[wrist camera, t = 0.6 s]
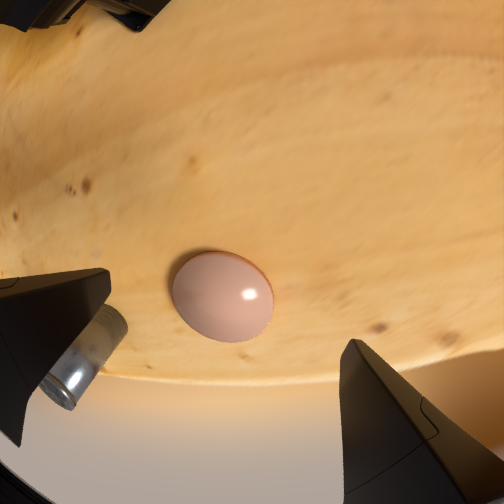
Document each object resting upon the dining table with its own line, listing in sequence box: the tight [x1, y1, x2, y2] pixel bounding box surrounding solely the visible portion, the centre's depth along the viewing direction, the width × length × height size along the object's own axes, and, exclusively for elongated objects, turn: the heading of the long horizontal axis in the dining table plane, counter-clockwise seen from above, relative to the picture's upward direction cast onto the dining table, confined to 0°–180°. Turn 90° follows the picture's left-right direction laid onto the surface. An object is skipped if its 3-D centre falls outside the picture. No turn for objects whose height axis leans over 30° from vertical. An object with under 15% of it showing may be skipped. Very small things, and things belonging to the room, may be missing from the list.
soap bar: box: [172, 251, 274, 343], centre depth 25 cm, size 9×9×1 cm
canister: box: [38, 304, 128, 411], centre depth 25 cm, size 5×5×12 cm
